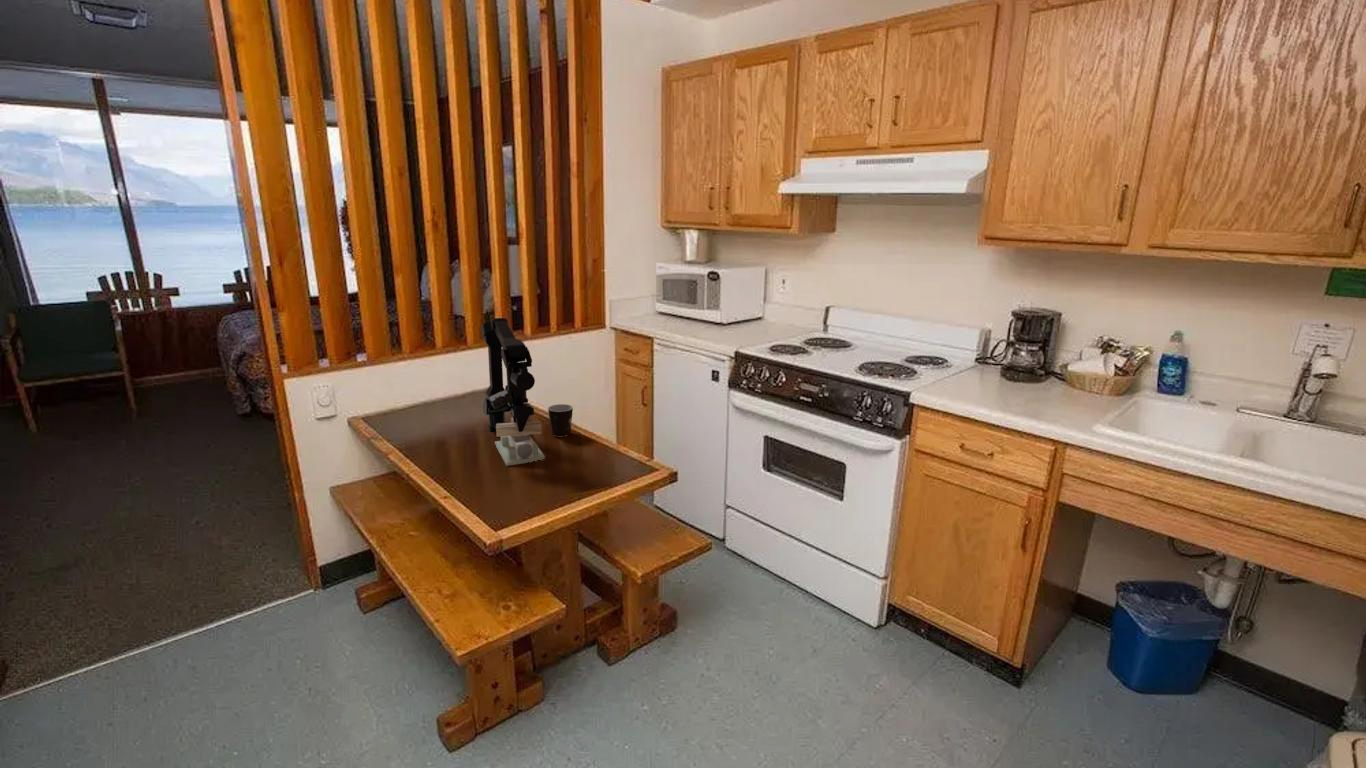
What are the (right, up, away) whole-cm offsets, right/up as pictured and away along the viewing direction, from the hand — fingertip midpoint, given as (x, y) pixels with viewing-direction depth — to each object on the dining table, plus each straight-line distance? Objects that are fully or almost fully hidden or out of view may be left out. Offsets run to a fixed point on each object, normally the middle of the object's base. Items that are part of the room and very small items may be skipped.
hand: (519, 429), depth 196 cm
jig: (-1, -8, +4) cm, 9 cm away
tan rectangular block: (0, -1, 0) cm, 1 cm away
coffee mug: (+9, -4, +20) cm, 22 cm away
